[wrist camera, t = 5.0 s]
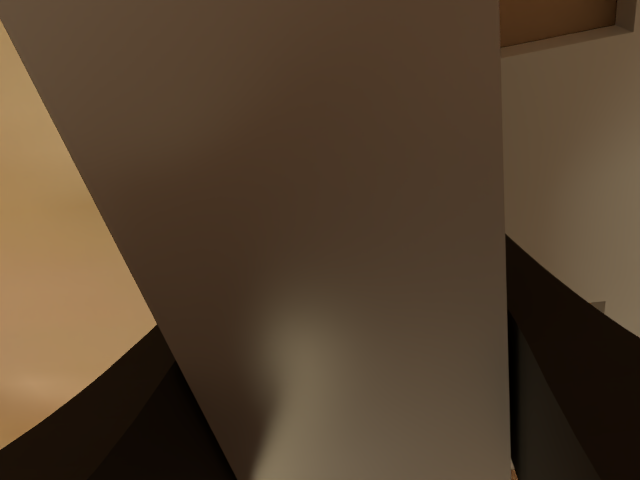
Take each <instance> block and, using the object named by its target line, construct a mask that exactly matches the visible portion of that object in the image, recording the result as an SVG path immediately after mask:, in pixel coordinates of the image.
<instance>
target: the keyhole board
mask: <svg viewBox="0 0 640 480" xmlns="http://www.w3.org/2000/svg"><path fill="white" fill-rule="evenodd" d="M500 51H501V91H502V130H503V170H504V210H505V233H506V234H507V235H508V236H509V237H510V238H511V239H512V240H513V241H514V242H515V243H517V244H518V245H519V246H520V247H521V248H522V249H523V250H524V251H525V252H527V253H528V254H529V255H530V256H531V257H532V258H534V259H535V260H536V261H537V262H538V263H539V264H540V265H542V266H543V267H544V268H545V269H546V270H548V271H549V272H550V273H551V274H552V275H554V276H555V277H556V278H558V279H559V280H560V281H561V282H563V283H564V284H565V285H566V286H568V287H569V288H570V289H571V290H573V291H574V292H575V293H577V294H578V295H579V296H580V297H582V298H583V299H584V300H586V301H587V302H588V303H591V305H593V306H594V307H595V308H597V309H598V310H599V311H601V312H602V313H604V314H605V315H607V316H608V317H609V318H611V319H612V320H614V321H615V322H617V323H618V324H619V325H621V326H622V327H624V328H625V329H627V330H629V331H630V332H632V333H633V334H635V335H636V336H638V337H640V0H617V10H616V22H615V25H613V26H608V27H603V28H598V29H593V30H588V31H583V32H578V33H573V34H568V35H563V36H558V37H553V38H548V39H543V40H538V41H533V42H528V43H523V44H518V45H513V46H508V47H503V48H500ZM511 470H515V469H514V466H513V463H512V460H511Z"/></svg>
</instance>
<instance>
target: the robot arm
mask: <svg viewBox="0 0 640 480" xmlns="http://www.w3.org/2000/svg"><path fill="white" fill-rule="evenodd" d="M505 249H506V289H507V328H508V368H509V407H510V447H511V460H512V463H513V466H514V469H515V472H516V475H517V477H518V480H640V337H638V336H636V335H635V334H633V333H632V332H630V331H629V330H627V329H625V328H624V327H622V326H621V325H619V324H618V323H617V322H615V321H614V320H612V319H611V318H609V317H608V316H607V315H605V314H604V313H602V312H601V311H599V310H598V309H597V308H595V307H594V306H593V305H591V304H590V303H588V302H587V301H586V300H584V299H583V298H582V297H580V296H579V295H578V294H577V293H575V292H574V291H573V290H571V289H570V288H569V287H568V286H566V285H565V284H564V283H563V282H561V281H560V280H559V279H558V278H556V277H555V276H554V275H552V274H551V273H550V272H549V271H548V270H546V269H545V268H544V267H543V266H542V265H540V264H539V263H538V262H537V261H536V260H535V259H534V258H532V257H531V256H530V255H529V254H528V253H527V252H525V251H524V250H523V249H522V248H521V247H520V246H519V245H518V244H517V243H515V242H514V241H513V240H512V239H511V238H510V237H509V236H508V235H507V234H506V233H505ZM0 480H237V478H236V476H235V474H234V472H233V470H232V468H231V466H230V464H229V462H228V461H227V459H226V457H225V455H224V453H223V451H222V449H221V447H220V445H219V443H218V441H217V439H216V437H215V435H214V433H213V431H212V429H211V427H210V426H209V424H208V422H207V420H206V418H205V416H204V414H203V412H202V410H201V408H200V406H199V404H198V402H197V400H196V398H195V396H194V394H193V392H192V391H191V389H190V387H189V385H188V383H187V381H186V379H185V377H184V375H183V373H182V371H181V369H180V367H179V365H178V363H177V361H176V359H175V358H174V356H173V354H172V352H171V350H170V348H169V346H168V344H167V342H166V340H165V338H164V336H163V334H162V332H161V330H160V328H159V326H158V324H157V325H156V326H155V327H154V328H153V329H152V330H151V331H150V332H149V333H148V334H147V335H145V336H144V337H143V338H142V339H141V340H140V341H139V342H138V343H137V344H135V345H134V346H133V347H132V348H131V349H130V350H129V351H128V352H127V353H125V354H124V355H123V356H122V357H121V358H120V359H119V360H118V361H116V362H115V363H114V364H113V365H112V366H111V367H110V368H109V369H108V370H106V371H105V372H104V373H103V374H102V375H101V376H99V377H98V378H97V379H96V380H95V381H93V382H92V383H91V384H90V385H89V386H87V387H86V388H85V389H84V390H82V391H81V392H80V393H79V394H77V395H76V396H75V397H73V398H72V399H71V400H70V401H68V402H67V403H66V404H64V405H63V406H62V407H60V408H59V409H58V410H56V411H55V412H54V413H53V414H51V415H50V416H49V417H47V418H46V419H45V420H43V421H42V422H40V423H39V424H38V425H36V426H35V427H33V428H32V429H30V430H29V431H27V432H26V433H25V434H23V435H22V436H20V437H19V438H17V439H16V440H14V441H13V442H11V443H10V444H8V445H7V446H6V447H4V448H3V449H1V450H0Z"/></svg>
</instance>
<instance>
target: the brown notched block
mask: <svg viewBox="0 0 640 480" xmlns="http://www.w3.org/2000/svg"><path fill="white" fill-rule="evenodd" d="M0 19H1V21H2V23H3V25H4V27H5V29H6V31H7V33H8V35H9V37H10V39H11V41H12V43H13V45H14V47H15V48H16V50H17V52H18V54H19V56H20V58H21V60H22V62H23V64H24V66H25V68H26V70H27V72H28V74H29V76H30V78H31V80H32V82H33V83H34V85H35V87H36V89H37V91H38V93H39V95H40V97H41V99H42V101H43V103H44V105H45V107H46V109H47V111H48V113H49V115H50V117H51V118H52V120H53V122H54V124H55V126H56V128H57V130H58V132H59V134H60V136H61V138H62V140H63V142H64V144H65V146H66V148H67V150H68V151H69V153H70V155H71V157H72V159H73V161H74V163H75V165H76V167H77V169H78V171H79V173H80V175H81V177H82V179H83V181H84V183H85V185H86V186H87V188H88V190H89V192H90V194H91V196H92V198H93V200H94V202H95V204H96V206H97V208H98V210H99V212H100V214H101V216H102V218H103V220H104V221H105V223H106V225H107V227H108V229H109V231H110V233H111V235H112V237H113V239H114V241H115V243H116V245H117V247H118V249H119V251H120V253H121V254H122V256H123V258H124V260H125V262H126V264H127V266H128V268H129V270H130V272H131V274H132V276H133V278H134V280H135V282H136V284H137V286H138V288H139V289H140V291H141V293H142V295H143V297H144V299H145V301H146V303H147V305H148V307H149V309H150V311H151V313H152V315H153V317H154V319H155V321H156V323H157V324H158V326H159V328H160V330H161V332H162V334H163V336H164V338H165V340H166V342H167V344H168V346H169V348H170V350H171V352H172V354H173V356H174V358H175V359H176V361H177V363H178V365H179V367H180V369H181V371H182V373H183V375H184V377H185V379H186V381H187V383H188V385H189V387H190V389H191V391H192V392H193V394H194V396H195V398H196V400H197V402H198V404H199V406H200V408H201V410H202V412H203V414H204V416H205V418H206V420H207V422H208V424H209V426H210V427H211V429H212V431H213V433H214V435H215V437H216V439H217V441H218V443H219V445H220V447H221V449H222V451H223V453H224V455H225V457H226V459H227V461H228V462H229V464H230V466H231V468H232V470H233V472H234V474H235V476H236V478H237V480H511V447H510V407H509V368H508V328H507V289H506V249H505V210H504V170H503V130H502V91H501V51H500V12H499V0H0Z"/></svg>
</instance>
